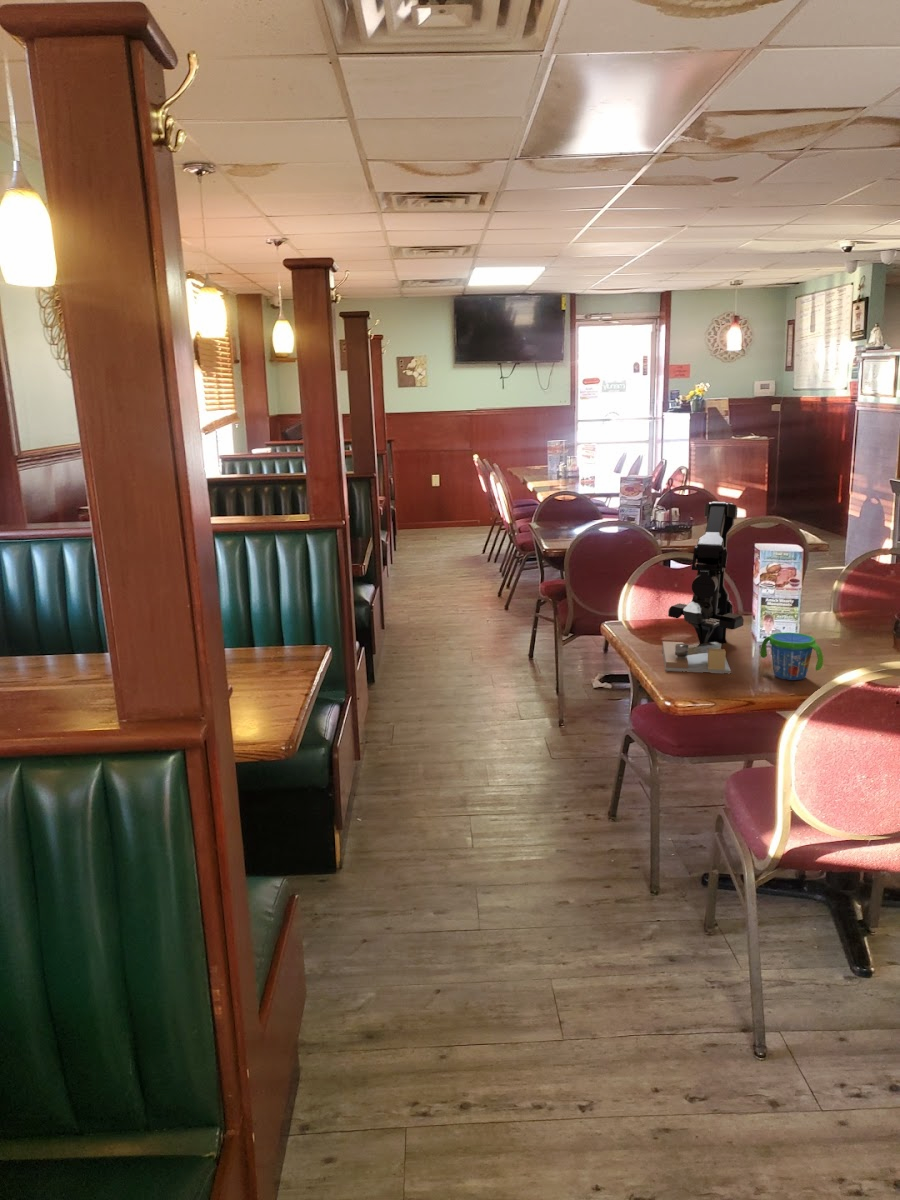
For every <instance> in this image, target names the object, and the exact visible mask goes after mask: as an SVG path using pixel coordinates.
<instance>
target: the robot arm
mask: <svg viewBox="0 0 900 1200" xmlns="http://www.w3.org/2000/svg"><path fill="white" fill-rule="evenodd" d="M703 517H704V518H705V519H706V526H705V531H704V534H703V535H702V536H701V537H699V538H698V541H697V543H696V545H695V546H694V549H693V555H692V563H691V571H697V574H696V576H695V578H694V580H693V581H692V584H691V591H692V593H693V595H692V599H691V602H688V603H687V604H685V603H675V604H674V605H671V606H670V607H669V608H668V613H667V614H668V615H667V616H668V617H669V618H675V619H679V618H681V617H682V616H683V620H684V621H685V622H687V623H688V624H689V625H692V627H693V628H694V629H695V632H696V635H697V638H698V642H699V644H701V643H709V642H718V643H727V638H726V637H727V629H728V630H736V629H739V628H741V627H742V626H744V617H743V616H742V614H737V613H734V606H733V604H732V602H731V601H732V600H730V593H729V591H728V590H727V588H726V586H725V575H726V569H727V561H728V556H729V555H728V554H729V553H728V551H727V547H728V546H727V544H728V533H729V532H730V531H731V530H732V529H733V527H734V525H735V520H737V519H738V506H737V505H736V504H734V502H727V501H714V500H713V501H709V502H708V503H705V504H704V514H703Z"/></svg>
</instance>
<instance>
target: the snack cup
mask: <svg viewBox="0 0 900 1200" xmlns="http://www.w3.org/2000/svg"><path fill="white" fill-rule="evenodd" d="M768 643H769V644H770V646H771V648H770V650H771V658H772V660H771V661H772V671H773V674H774V677H776V678H778V679H783V680H788V681H798V680H804V679H805V678H806V676H807V674H808V671H809V666H810V662H811V658H812V653H813V650H814V651H815V652H816V658H817V661H816V665H815V671H819V670H821V669H822V668H823V664H824V656H823V652H822V651H823V650H822V649H821V647H820V646H819V644H817V643H816V638H815V637H813V636H811V635H809V634H805V633H800V632H776V633H772V634H770V635H769V636H766V637H765V638H764V639H763V641H762V643H761V647H760V652H759V653H760V657H761V658H762V659H764V658H765V659H766V657H767V656H768V651H767V644H768Z"/></svg>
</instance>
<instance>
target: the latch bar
mask: <svg viewBox="0 0 900 1200" xmlns="http://www.w3.org/2000/svg"><path fill="white" fill-rule="evenodd" d="M708 648H710V649H722V642H707V643H701V644H700V643H695V644H687V643H683V644H676V645H675V655H676V656H688V655H694V654H702V653H708Z"/></svg>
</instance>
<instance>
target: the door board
mask: <svg viewBox="0 0 900 1200" xmlns="http://www.w3.org/2000/svg"><path fill="white" fill-rule="evenodd" d="M676 644H684V642H683V641H681V642H680V641H677V642H676V641H662V647H661V648H662V655H663V656H662V657H663V662H664V663H663V664H664V669H665V672H682V671H683V672H685V671H687V672H688V673H703V672H711V673H710V674H724V673H728V674H729V675H731V674H732V670H731V668H730V665H729V663H728V660H727V657H726V653H727V652H726V649H725V648H721V649H710V648H708V653H702V654H694V655H688V656H676V655H675V645H676ZM687 672H686V673H687ZM730 673H731V674H730ZM728 674H727V675H728Z"/></svg>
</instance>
